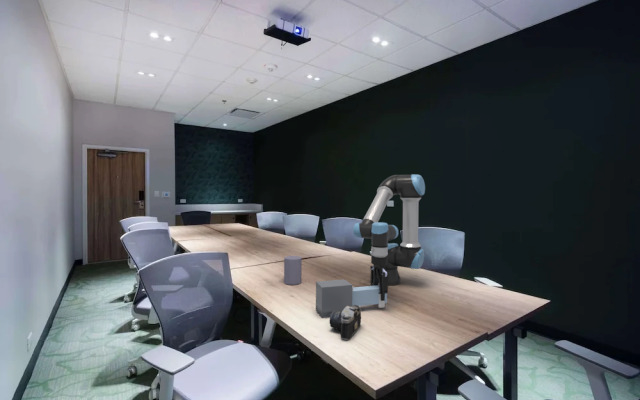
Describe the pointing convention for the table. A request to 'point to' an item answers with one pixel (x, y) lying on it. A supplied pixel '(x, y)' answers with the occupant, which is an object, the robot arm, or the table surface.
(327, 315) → the dispenser
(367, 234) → the robot arm
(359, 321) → the camera
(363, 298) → the tall blue-grey block
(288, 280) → the container
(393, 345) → the table surface
